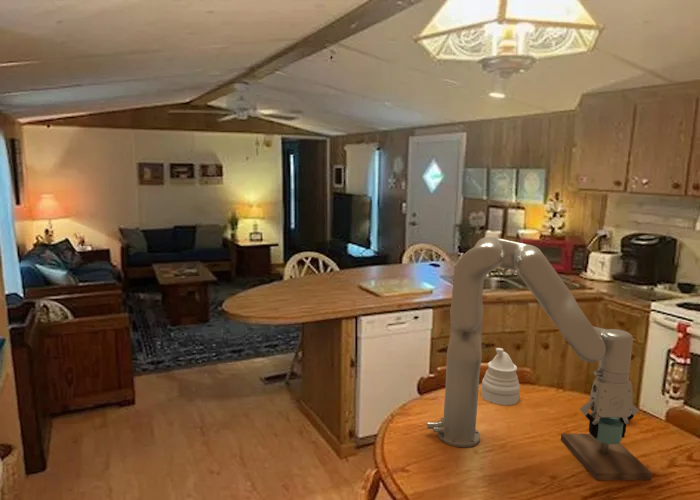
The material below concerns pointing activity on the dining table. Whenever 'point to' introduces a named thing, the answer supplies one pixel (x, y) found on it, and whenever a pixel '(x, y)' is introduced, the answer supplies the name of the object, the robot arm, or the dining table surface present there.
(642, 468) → the rod stand
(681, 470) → the dining table surface
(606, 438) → the bead
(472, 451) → the dining table surface
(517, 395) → the honey pot
